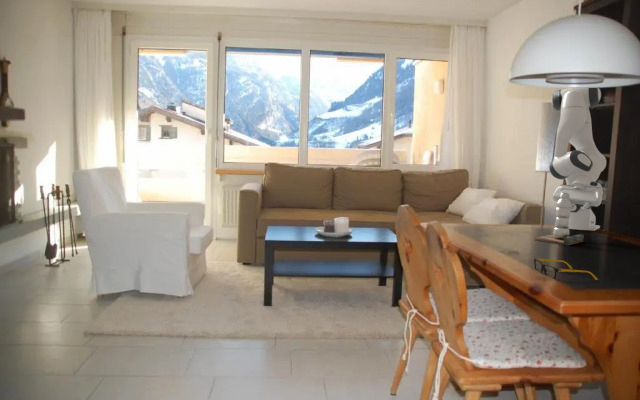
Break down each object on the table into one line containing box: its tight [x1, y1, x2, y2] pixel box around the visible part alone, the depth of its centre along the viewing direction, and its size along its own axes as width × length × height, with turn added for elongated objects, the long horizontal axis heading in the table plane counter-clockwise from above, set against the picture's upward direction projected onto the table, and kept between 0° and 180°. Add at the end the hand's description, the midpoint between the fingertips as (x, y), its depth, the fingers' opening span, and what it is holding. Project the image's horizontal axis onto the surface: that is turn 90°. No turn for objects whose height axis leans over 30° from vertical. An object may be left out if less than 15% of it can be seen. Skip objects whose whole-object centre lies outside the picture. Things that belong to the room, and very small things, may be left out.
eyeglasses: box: [533, 258, 599, 281], centre depth 163 cm, size 14×14×4 cm
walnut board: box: [534, 233, 585, 246], centre depth 223 cm, size 16×14×3 cm
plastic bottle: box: [552, 193, 572, 239], centre depth 222 cm, size 6×7×20 cm
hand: (570, 209), depth 228 cm, fingers open, 8 cm apart
